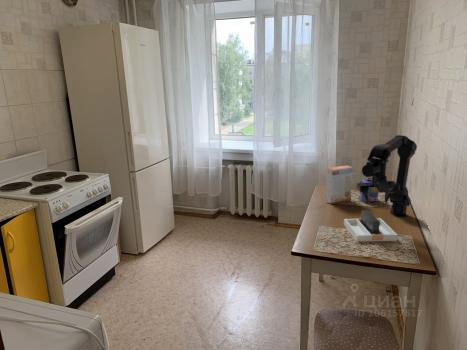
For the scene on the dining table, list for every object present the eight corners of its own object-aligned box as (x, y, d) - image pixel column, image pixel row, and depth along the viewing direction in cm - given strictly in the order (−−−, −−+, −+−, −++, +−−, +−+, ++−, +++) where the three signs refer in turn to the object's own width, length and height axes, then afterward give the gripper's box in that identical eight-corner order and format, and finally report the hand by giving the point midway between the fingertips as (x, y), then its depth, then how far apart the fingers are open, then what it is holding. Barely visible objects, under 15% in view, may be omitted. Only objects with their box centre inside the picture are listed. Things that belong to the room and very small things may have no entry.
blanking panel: (366, 224, 169) (367, 210, 167) (378, 237, 156) (379, 221, 153) (360, 225, 169) (361, 210, 167) (371, 237, 156) (373, 221, 153)
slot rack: (379, 223, 171) (380, 217, 170) (397, 241, 153) (398, 234, 152) (343, 224, 171) (344, 218, 170) (356, 241, 153) (357, 235, 152)
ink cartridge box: (361, 202, 201) (363, 178, 197) (358, 198, 206) (360, 176, 202) (378, 201, 201) (380, 178, 197) (374, 198, 206) (376, 175, 202)
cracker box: (344, 197, 208) (347, 164, 203) (351, 201, 203) (353, 167, 197) (325, 200, 204) (326, 167, 198) (330, 204, 199) (332, 169, 193)
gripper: (365, 178, 152) (363, 210, 157) (407, 176, 152) (403, 208, 157) (356, 171, 163) (354, 201, 167) (395, 169, 163) (392, 200, 167)
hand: (376, 203), depth 164 cm, fingers open, 9 cm apart
